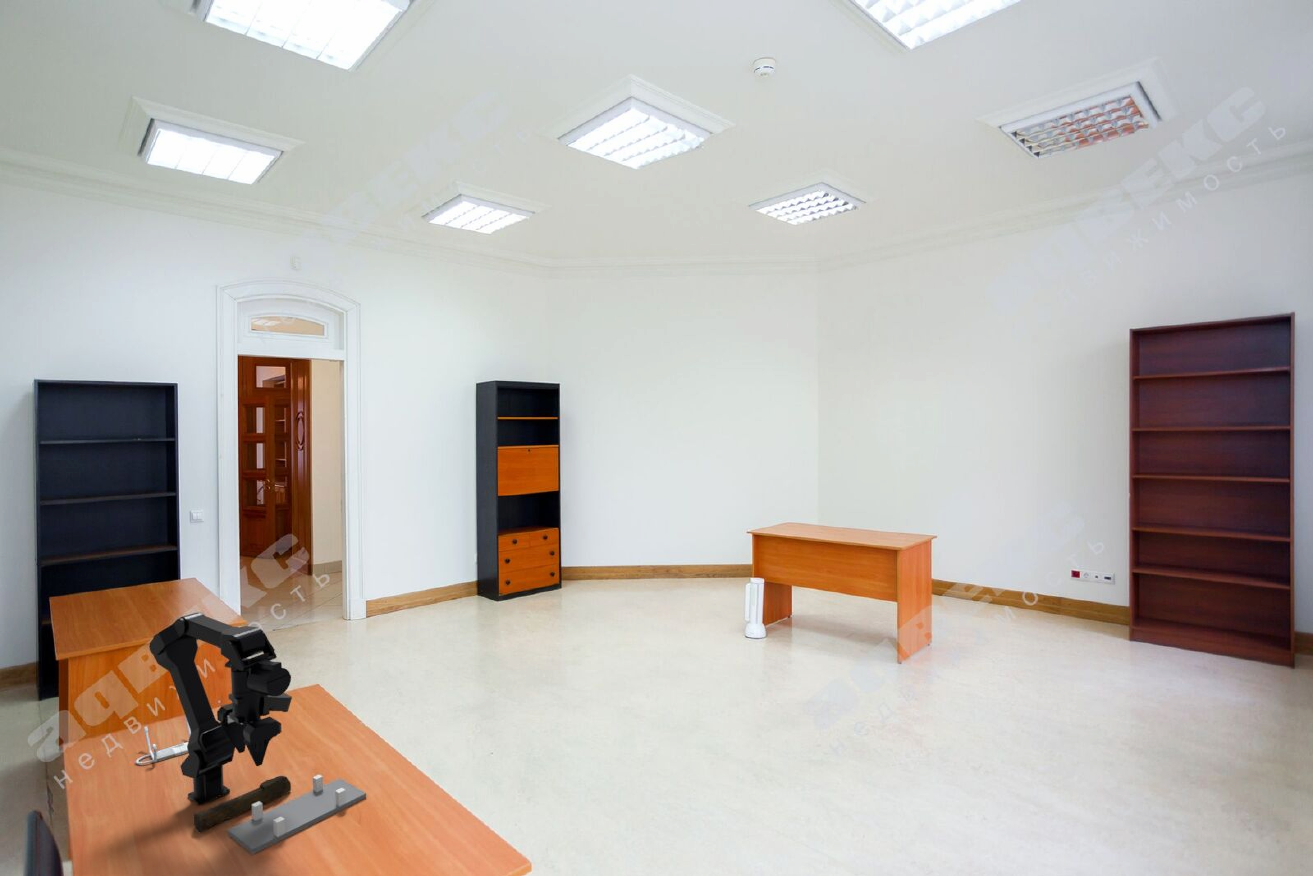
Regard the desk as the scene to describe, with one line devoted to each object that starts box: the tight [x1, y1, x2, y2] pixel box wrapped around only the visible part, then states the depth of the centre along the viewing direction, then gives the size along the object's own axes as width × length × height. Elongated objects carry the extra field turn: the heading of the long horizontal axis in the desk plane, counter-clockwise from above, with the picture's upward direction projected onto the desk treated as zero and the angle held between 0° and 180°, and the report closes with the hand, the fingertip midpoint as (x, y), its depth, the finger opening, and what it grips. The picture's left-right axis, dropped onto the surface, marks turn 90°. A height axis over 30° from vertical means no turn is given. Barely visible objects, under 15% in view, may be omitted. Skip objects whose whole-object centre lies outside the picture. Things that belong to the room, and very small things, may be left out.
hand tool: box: [193, 775, 292, 834], centre depth 150 cm, size 19×4×5 cm, turn 139°
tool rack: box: [227, 774, 367, 855], centre depth 149 cm, size 11×24×4 cm, turn 144°
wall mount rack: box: [135, 716, 191, 765], centre depth 178 cm, size 16×14×6 cm
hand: (250, 758), depth 150 cm, fingers open, 9 cm apart
